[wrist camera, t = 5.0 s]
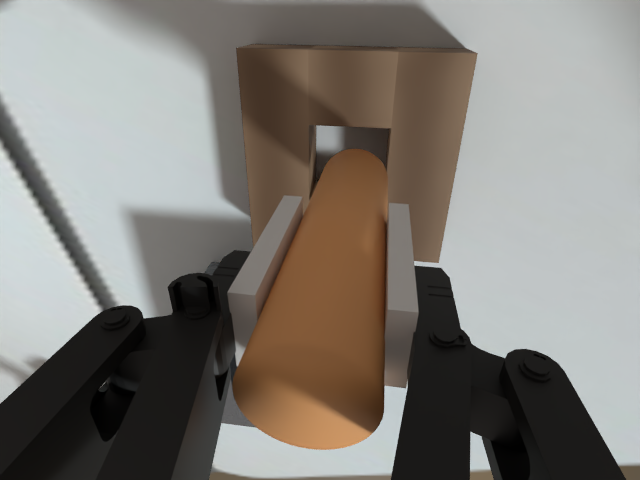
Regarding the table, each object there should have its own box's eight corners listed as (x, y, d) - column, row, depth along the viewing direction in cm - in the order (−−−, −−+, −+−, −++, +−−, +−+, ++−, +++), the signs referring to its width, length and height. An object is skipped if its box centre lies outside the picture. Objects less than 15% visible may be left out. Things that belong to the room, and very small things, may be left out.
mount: (466, 48, 22) (477, 53, 19) (433, 239, 28) (438, 262, 25) (252, 44, 23) (236, 48, 21) (264, 227, 29) (253, 248, 27)
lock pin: (391, 150, 20) (391, 354, 8) (384, 213, 22) (377, 459, 10) (322, 146, 21) (224, 334, 8) (321, 208, 22) (239, 438, 10)
